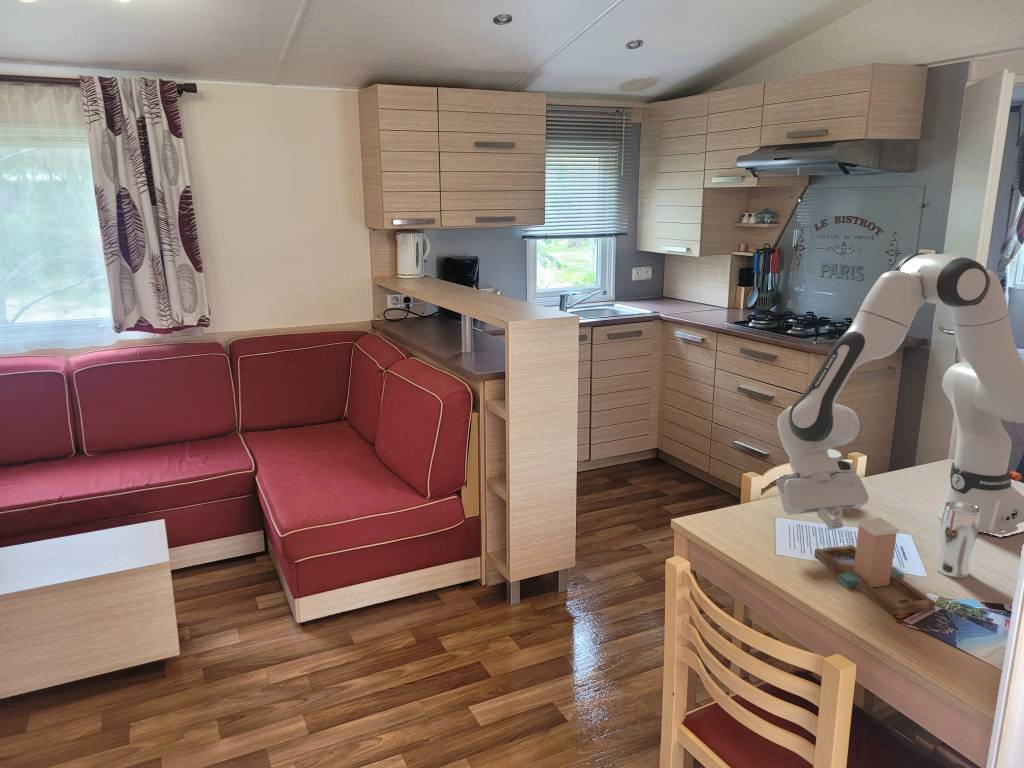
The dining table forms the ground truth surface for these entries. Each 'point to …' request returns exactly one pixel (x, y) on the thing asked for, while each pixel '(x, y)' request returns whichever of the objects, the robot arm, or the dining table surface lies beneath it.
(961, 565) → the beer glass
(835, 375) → the robot arm
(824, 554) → the open rectangular frame
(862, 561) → the block
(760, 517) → the dining table surface
